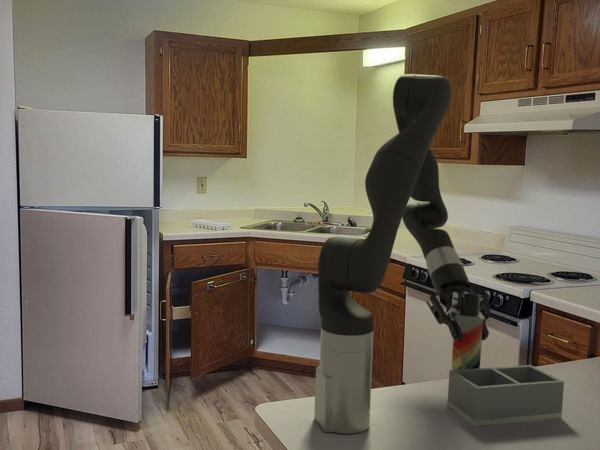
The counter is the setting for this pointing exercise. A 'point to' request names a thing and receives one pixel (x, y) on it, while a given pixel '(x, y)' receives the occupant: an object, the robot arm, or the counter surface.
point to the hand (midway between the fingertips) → (472, 339)
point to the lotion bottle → (468, 334)
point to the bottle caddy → (505, 395)
